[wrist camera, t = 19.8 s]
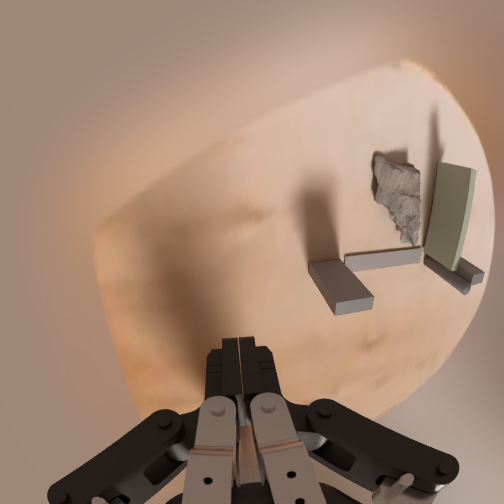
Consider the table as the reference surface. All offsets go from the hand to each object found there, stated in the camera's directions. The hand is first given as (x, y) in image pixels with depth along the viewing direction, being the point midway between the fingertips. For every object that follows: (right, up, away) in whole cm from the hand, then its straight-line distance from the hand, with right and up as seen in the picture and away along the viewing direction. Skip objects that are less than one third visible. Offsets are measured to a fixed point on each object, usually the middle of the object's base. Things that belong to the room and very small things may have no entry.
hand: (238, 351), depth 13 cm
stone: (+20, +13, +21) cm, 32 cm away
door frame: (+20, +4, +24) cm, 31 cm away
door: (+28, +11, +21) cm, 37 cm away
